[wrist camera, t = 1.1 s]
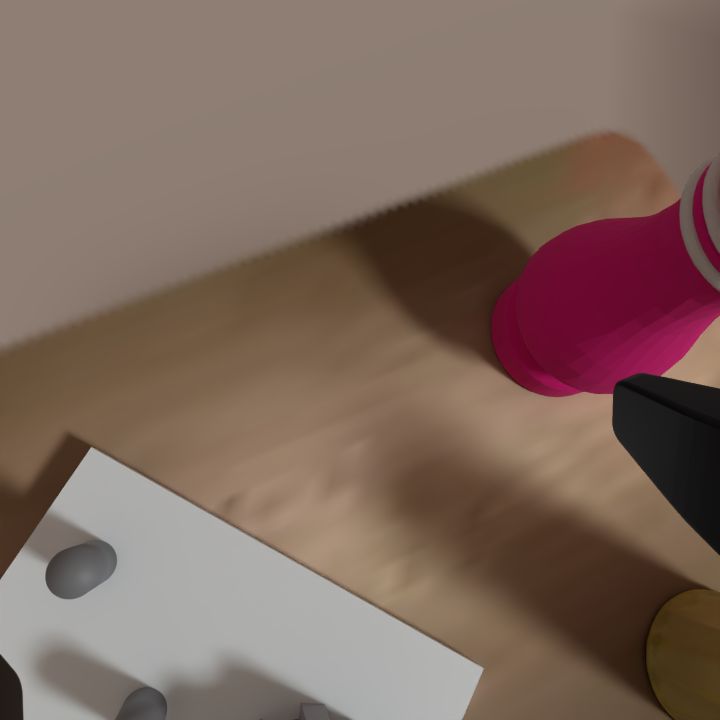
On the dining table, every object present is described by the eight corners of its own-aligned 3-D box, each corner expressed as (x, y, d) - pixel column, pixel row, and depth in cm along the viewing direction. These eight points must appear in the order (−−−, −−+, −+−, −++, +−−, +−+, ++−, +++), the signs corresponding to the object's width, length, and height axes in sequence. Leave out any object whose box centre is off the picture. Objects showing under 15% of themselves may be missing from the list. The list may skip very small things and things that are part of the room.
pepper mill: (457, 289, 29) (875, -99, 10) (578, 249, 31) (1126, -142, 12) (515, 429, 28) (1098, 293, 9) (637, 379, 30) (1333, 179, 11)
